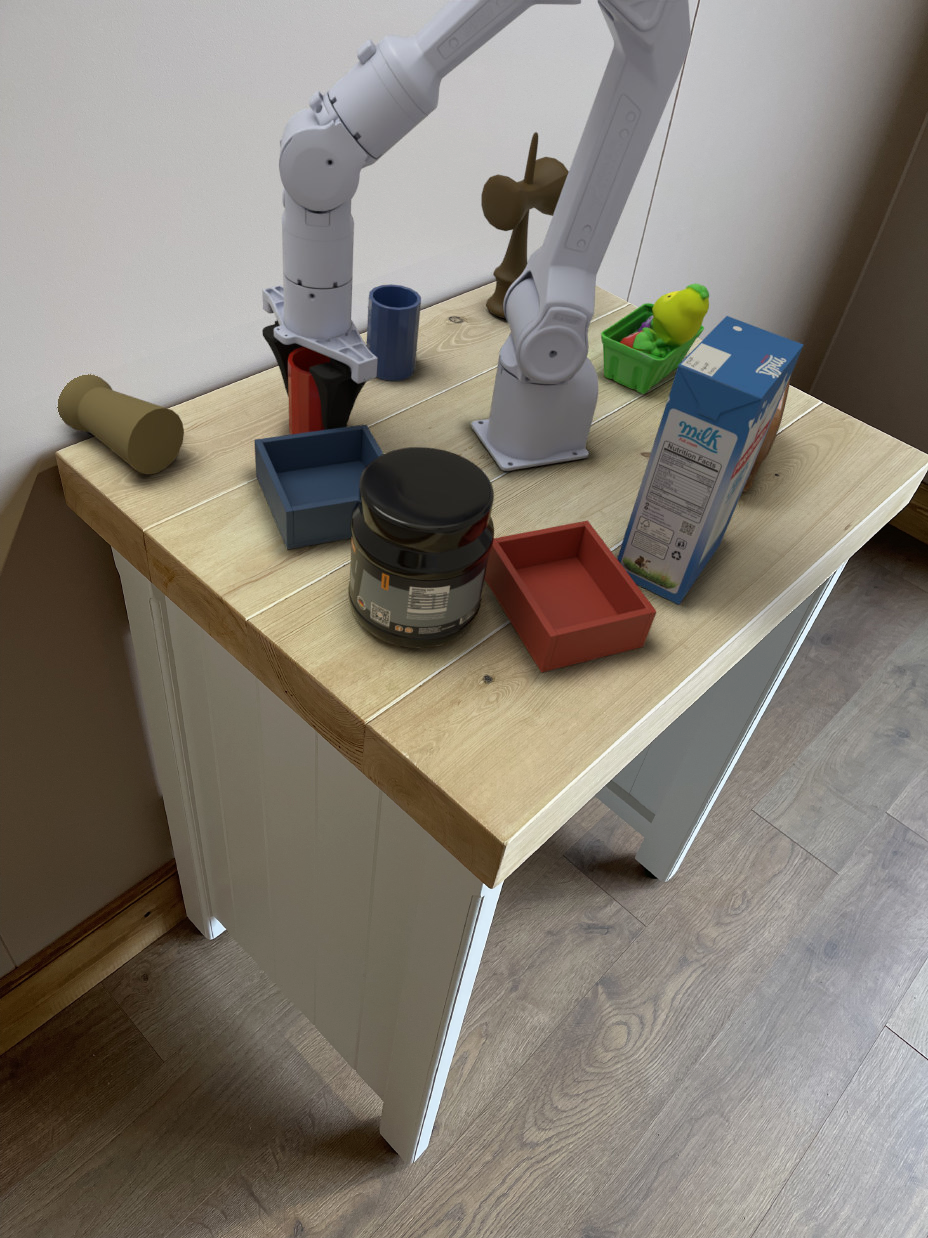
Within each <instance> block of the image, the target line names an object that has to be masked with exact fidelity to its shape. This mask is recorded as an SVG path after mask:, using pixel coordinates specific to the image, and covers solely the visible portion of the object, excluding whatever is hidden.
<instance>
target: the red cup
mask: <svg viewBox="0 0 928 1238" xmlns="http://www.w3.org/2000/svg"><path fill="white" fill-rule="evenodd" d="M325 362H330V357H328V356H326V355H323V354H321V353H318V352H316V351H314V350H311V349H309V348H306V347H304V346H303V347H300V348H297V349H295V350H294V351H292V352H291V353H290V354H289V357H288V395H287V398H288V397H289V398H288V429H289V435H291V434H299V433H306V432H313V431H321V430H325V429H324V426H323V422H322V413H321V402H320V397H319V392H318V389H317V386H316V383H315V381H314V379H313V377H312V375H311V373H310V372H309V368H310V367H312V366H315V365H318V364H322V363H325Z"/></svg>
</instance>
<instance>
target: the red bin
mask: <svg viewBox="0 0 928 1238" xmlns="http://www.w3.org/2000/svg"><path fill="white" fill-rule="evenodd" d="M617 558H618V557H616V556H615V554H614V553H613V552H612V551H611V549H610V548H609V546H608V545H607V544H606V542H605V541H604V540H603V538H602V537H601V536H600V534H599V533H598V532H597V530H596V529H595V528H594V527H593V525H592V523H591V522H589V520H582V521H577V522H571V523H566V524H562V525H557V526H556V525H555V526H551V527H545V528H540V529H535V530H530V531H526V532H524V531H523V532H520V533H514V534H510V535H504V536H499V537H494V540H493V545H492V548H491V550H490V552H489V557H488V563H487V568H486V574H485V579H484V582H485V583H486V584H487V586H488V588H489V589H490V591H491V593H492V594H493V596H494V598H495V599H496V601H497V603H498V604H499V605H500V608H501V609H502V610H503V612H504V614H505V615H506V617H507V619H508V621H509V622H510V624H511V625H512V627H513V629H514V631H515V632H516V633H517V635H518V637H519V638H520V640H521V642H522V643H523V645H524V647H525V649H526V650H527V652H528V653H529V655H530V657H531V658H532V660H533V662H534V663H535V665H536V666H537V668H538V669H539V671H540V673H544V672H549V671H552V670H557V669H561V668H565V667H569V666H572V665H577V664H580V663H581V664H582V663H584V662H589V661H593V660H597V659H600V658H604V657H608V656H613V655H616V654H620V653H625V652H629V651H632V650H636V649H640V648H643V647H644V646H645V644H646V641H647V638H648V636H649V633H650V630H651V627H652V626H653V622H654V620H655V617H656V615H657V610H656V608H655V607H654V606H653V604H652V603H651V601H649V599H648V598H647V597H646V595H645V594H644V593H643V591H642V590H641V589H640V586H639V585H637V584H635V582H634V581H633V580H632V578H631V577H630V576H629V574H628V573H627V572H626V570H625V569H624V568H623V566H622V565H621V564H620V562H619V561H618V560H617Z"/></svg>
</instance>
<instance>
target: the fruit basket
mask: <svg viewBox="0 0 928 1238" xmlns="http://www.w3.org/2000/svg"><path fill="white" fill-rule="evenodd" d="M709 299H710V292H709V290H708V288H707V287H706V286H705V285H704V284H699V283H691V284H688V285H687V286H686V287H685V288H684V289H681V290H675V291H674V290H673V291H671V292H668V293H665V294H663V295H661V296H660V297H658V298H657V299H656V300H655V302H654V303H649V302H645V303H643V304H641V305H640V306H639V307H637V308H636V309H634V310H633V311H631V312H630V313H628V314H627V315H625V316H624V317H622V318H620V319H619V320H618V321H616V322H615V323H614V324H612V325H610V326H609V327H607V328H605V329H604V330H602V331H601V333H600V336H601V344H602V352H603V353H602V354H603V377H605V378H607V379H611V380H613V381H614V382H615V383H618V384H620V385H622V386H624V387H626V388H629V389H631V390H634V391H637V392H638V393H639V394H641V395H642V394H643V395H645V394H647V393H648V392H649V391H650V390H651V389H652V388H653V387H655V386H656V385H657V384H659V383H660V382H661V380H662V379H665V378H666V377H667V376H669V375H670V374H671V372H672V371H675V370H677V368H678V365H679V364H680V363H681V362H682V361H683V360H684V359H685V358H686V357H687V355H688V353H689V351H690V349H691V348H692V346H693V345H694V343H695V342H696V340H697V339H698V338H699V337H700V336H701V334H702V333H703V332H704V330H705V326H704V325H703V323H704V319H705V317H706V315H707V314H708V312H709V309H710V300H709Z"/></svg>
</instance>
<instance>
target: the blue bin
mask: <svg viewBox="0 0 928 1238" xmlns="http://www.w3.org/2000/svg"><path fill="white" fill-rule="evenodd" d="M253 443H254V460H255V477H256V479H257V481H258V485H259V486H260V489H261V491H262V493H263V496H264V498H265V501H266V503H267V505H268V508H269V510H270V513H271V515H272V517H273V519H274V522H275V524H276V527H277V530H278V531H279V534H280V536H281V539H282V541H283V544H284V546H285V549H286V550H292V549H293V550H294V549H297V548H298V549H299V548H305V547H309V546H315V545H319V544H320V545H321V544H325V543H331V542H337V541H342V540H349V539H351V531H350V519H351V514H352V511H353V508H354V506H355V504H356V503H357V501H358V498H359V482H360V477H361V474H362V472H363V471H364V469H365V468H366V466H367V465H368V464H369V463H370V462H372V461H373V460H374V459H376V458H377V457H379V456H381V455H383V454H384V452H383V450H382V449H381V447H380V445H379V443H378V442H377V440H376V438H375V436H374V435H373V433H372V432H371V430H370V428H369V426H368V424H367V423H366V424H359V425H357V424H356V425H352V426H351V425H350V426H347V427H343V428H335V429H328V430H321V431H313V432H306V433H299V434H291V435H290V434H285V435H279V436H278V435H276V436H270V437H269V436H268V437H263V438H255V439H254V440H253Z"/></svg>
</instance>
